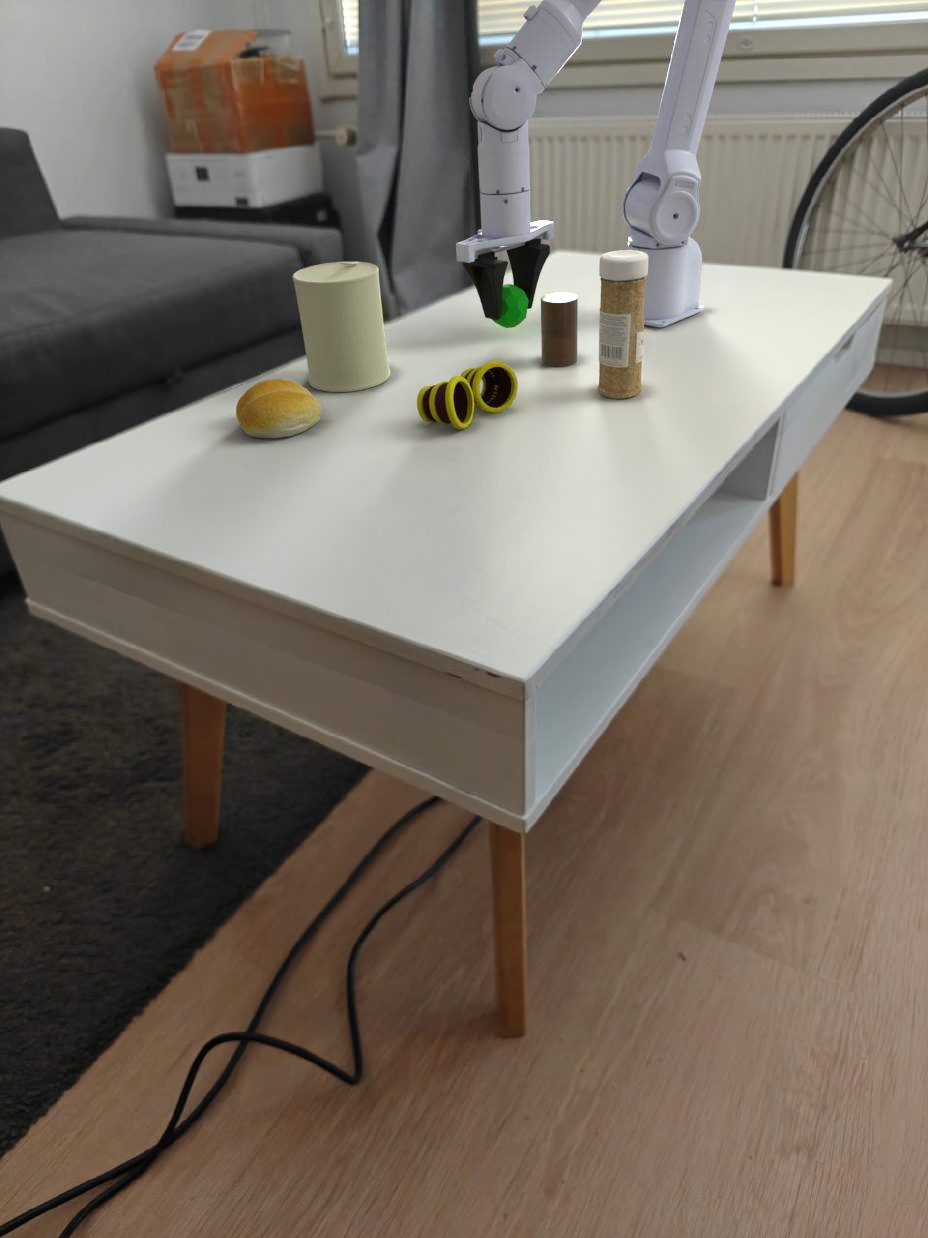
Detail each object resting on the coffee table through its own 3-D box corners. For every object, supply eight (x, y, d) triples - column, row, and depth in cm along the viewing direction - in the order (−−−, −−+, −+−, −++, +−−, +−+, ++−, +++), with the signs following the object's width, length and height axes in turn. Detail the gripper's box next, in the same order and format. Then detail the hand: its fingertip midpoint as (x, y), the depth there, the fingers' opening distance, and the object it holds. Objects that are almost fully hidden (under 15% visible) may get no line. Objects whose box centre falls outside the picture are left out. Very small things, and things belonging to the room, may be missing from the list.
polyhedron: (481, 325, 110) (479, 285, 108) (514, 317, 112) (513, 278, 110) (502, 334, 107) (501, 293, 104) (536, 326, 109) (536, 285, 106)
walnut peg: (557, 353, 103) (557, 290, 99) (584, 359, 101) (585, 295, 97) (534, 362, 101) (533, 298, 97) (561, 369, 98) (561, 304, 95)
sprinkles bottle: (651, 392, 91) (659, 253, 83) (617, 403, 89) (622, 261, 81) (620, 381, 94) (625, 246, 87) (587, 391, 92) (589, 254, 85)
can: (405, 368, 102) (394, 257, 95) (364, 395, 95) (349, 279, 89) (336, 361, 106) (321, 255, 99) (293, 388, 99) (273, 275, 92)
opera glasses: (485, 404, 93) (476, 356, 91) (522, 405, 89) (514, 355, 87) (419, 434, 88) (407, 383, 85) (456, 436, 84) (444, 383, 82)
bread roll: (248, 447, 85) (239, 407, 83) (235, 417, 92) (226, 379, 90) (331, 431, 87) (325, 391, 85) (312, 402, 95) (306, 365, 92)
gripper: (522, 178, 107) (525, 294, 115) (434, 198, 99) (443, 321, 107) (567, 182, 103) (566, 302, 111) (478, 203, 95) (485, 331, 103)
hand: (508, 312), depth 109 cm, fingers closed on polyhedron, 5 cm apart
